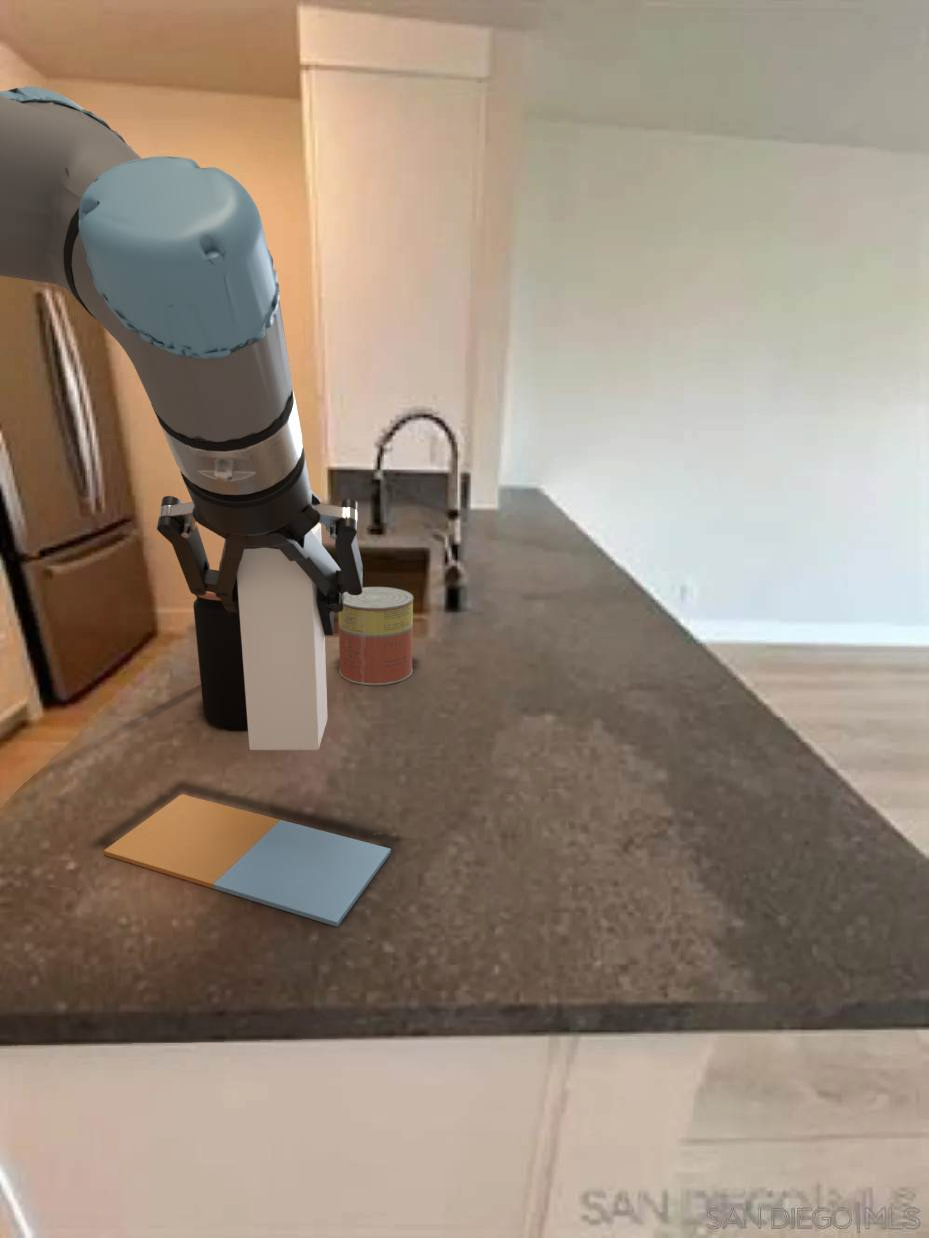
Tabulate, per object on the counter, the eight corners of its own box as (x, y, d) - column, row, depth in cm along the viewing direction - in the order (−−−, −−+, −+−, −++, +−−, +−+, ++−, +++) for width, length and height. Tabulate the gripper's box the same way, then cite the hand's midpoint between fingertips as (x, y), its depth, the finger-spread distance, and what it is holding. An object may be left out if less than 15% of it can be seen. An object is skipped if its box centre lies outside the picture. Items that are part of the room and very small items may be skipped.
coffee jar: (300, 719, 88) (294, 586, 82) (216, 739, 82) (204, 598, 76) (272, 690, 96) (265, 568, 91) (194, 707, 90) (181, 577, 85)
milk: (327, 720, 64) (322, 486, 58) (318, 751, 58) (311, 496, 52) (262, 719, 64) (249, 484, 57) (247, 751, 58) (230, 493, 51)
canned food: (403, 655, 111) (403, 584, 107) (420, 681, 101) (422, 605, 97) (334, 660, 108) (332, 588, 104) (345, 689, 98) (343, 610, 94)
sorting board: (103, 855, 61) (103, 850, 61) (182, 797, 70) (181, 793, 70) (337, 927, 54) (337, 922, 54) (391, 852, 63) (391, 848, 63)
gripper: (62, 499, 38) (176, 660, 59) (398, 505, 41) (396, 658, 61) (88, 401, 42) (188, 586, 62) (398, 411, 44) (396, 587, 64)
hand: (291, 622), depth 62 cm, fingers closed on milk, 6 cm apart
